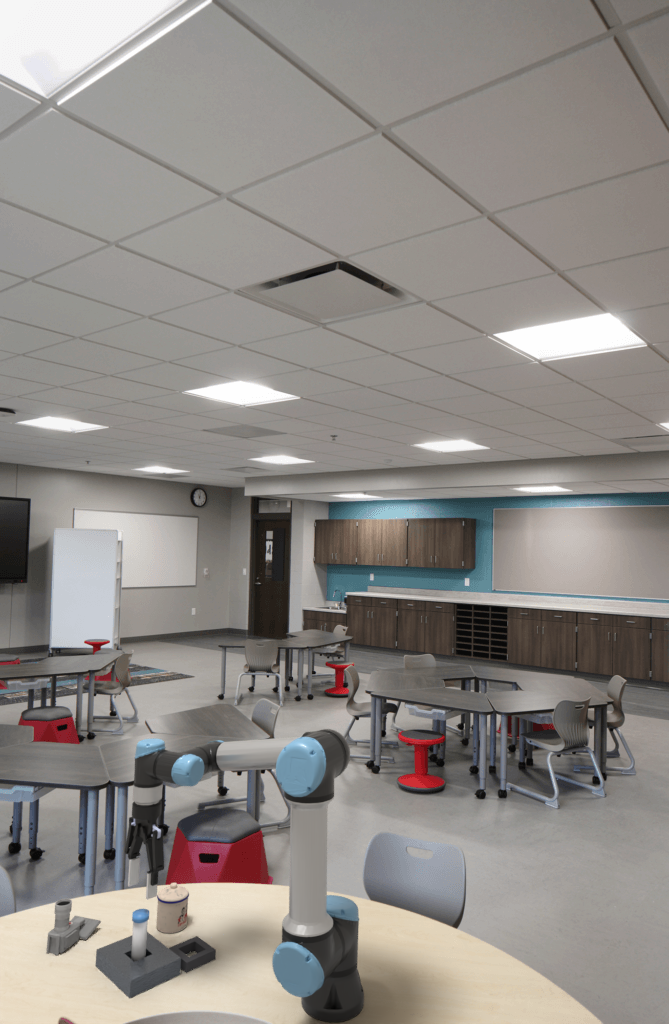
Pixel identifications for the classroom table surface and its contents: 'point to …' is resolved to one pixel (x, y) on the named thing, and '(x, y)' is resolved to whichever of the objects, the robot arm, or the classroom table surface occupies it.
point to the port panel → (137, 965)
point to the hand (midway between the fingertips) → (142, 890)
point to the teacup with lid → (172, 909)
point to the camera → (68, 928)
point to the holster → (197, 960)
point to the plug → (139, 934)
